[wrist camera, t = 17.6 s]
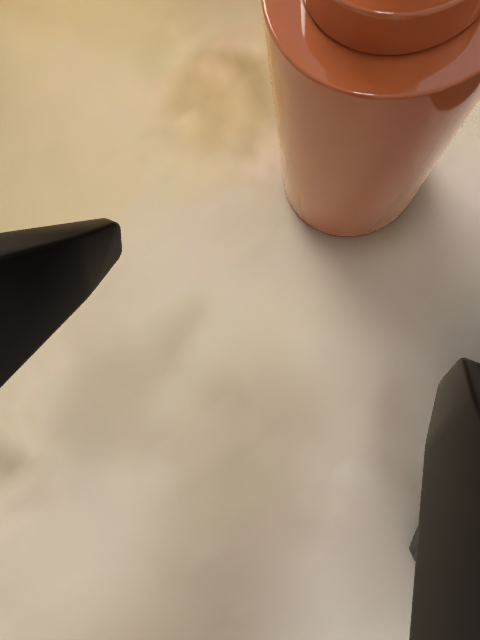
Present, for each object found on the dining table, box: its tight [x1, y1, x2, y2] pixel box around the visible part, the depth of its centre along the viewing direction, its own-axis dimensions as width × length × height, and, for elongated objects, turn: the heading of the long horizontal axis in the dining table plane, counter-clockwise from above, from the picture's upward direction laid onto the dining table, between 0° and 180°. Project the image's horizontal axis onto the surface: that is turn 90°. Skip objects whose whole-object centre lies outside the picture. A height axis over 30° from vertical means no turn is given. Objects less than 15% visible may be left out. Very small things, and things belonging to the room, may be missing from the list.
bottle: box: [261, 0, 480, 236], centre depth 11 cm, size 6×6×12 cm
